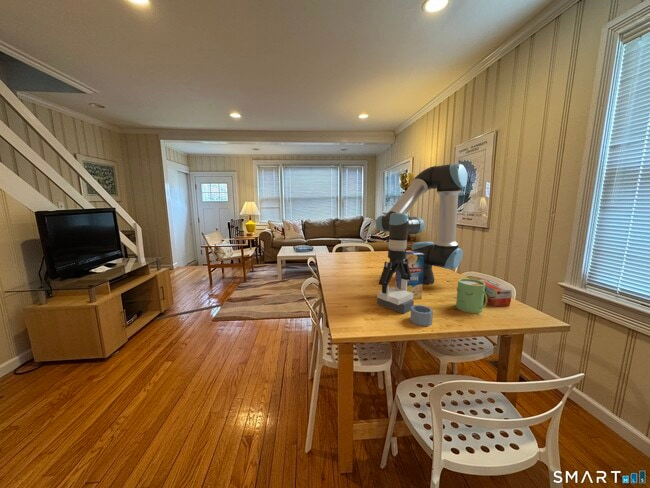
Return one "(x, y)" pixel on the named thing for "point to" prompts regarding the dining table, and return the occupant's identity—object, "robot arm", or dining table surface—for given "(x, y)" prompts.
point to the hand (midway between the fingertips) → (394, 296)
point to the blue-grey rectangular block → (400, 308)
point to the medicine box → (497, 294)
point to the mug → (470, 295)
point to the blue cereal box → (413, 274)
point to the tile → (397, 295)
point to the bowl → (421, 315)
